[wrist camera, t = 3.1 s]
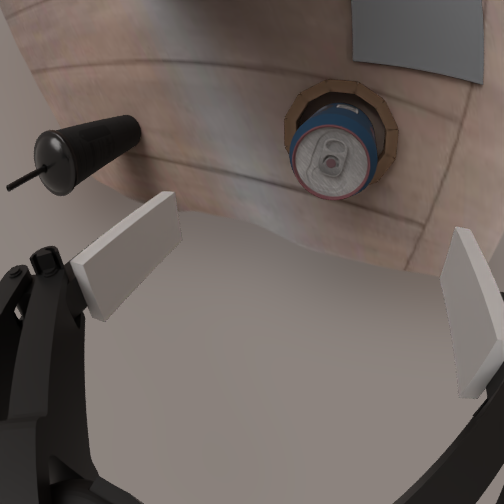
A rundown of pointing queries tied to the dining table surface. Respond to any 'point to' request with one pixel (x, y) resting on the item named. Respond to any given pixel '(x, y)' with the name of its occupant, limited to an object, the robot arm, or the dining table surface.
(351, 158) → the soda can
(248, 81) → the dining table surface
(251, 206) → the dining table surface
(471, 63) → the mat
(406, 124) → the dining table surface
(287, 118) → the holder ring
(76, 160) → the drinking cup
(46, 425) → the robot arm
